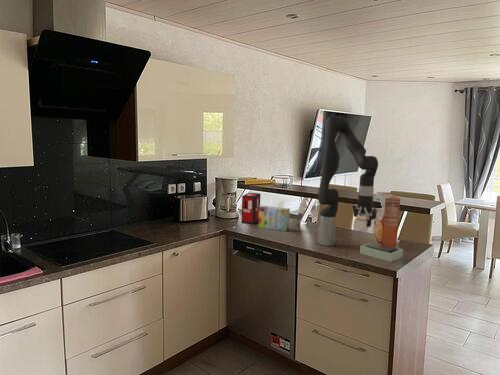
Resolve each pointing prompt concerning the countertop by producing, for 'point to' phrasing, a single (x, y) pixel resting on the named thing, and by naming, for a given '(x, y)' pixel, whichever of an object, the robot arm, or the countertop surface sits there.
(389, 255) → the tote
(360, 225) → the cream carton
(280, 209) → the snack box
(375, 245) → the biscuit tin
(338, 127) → the robot arm
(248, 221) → the cleaning product box
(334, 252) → the countertop surface
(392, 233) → the orange tall flat container
